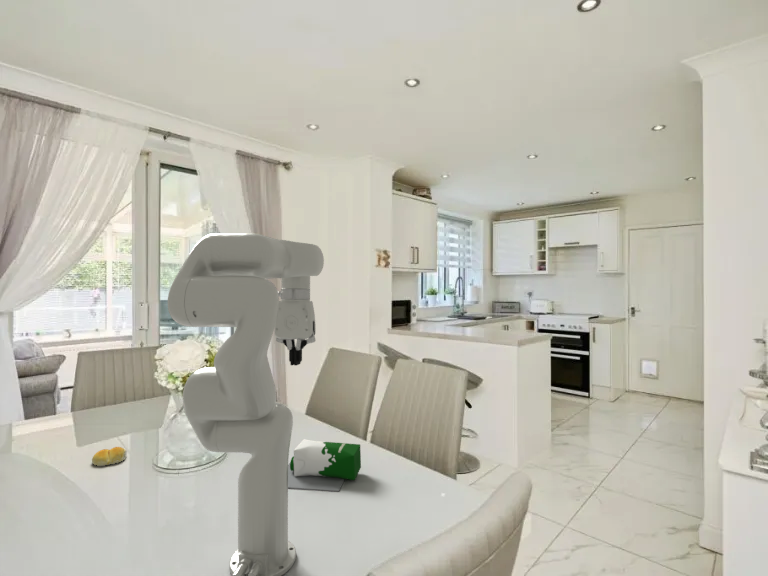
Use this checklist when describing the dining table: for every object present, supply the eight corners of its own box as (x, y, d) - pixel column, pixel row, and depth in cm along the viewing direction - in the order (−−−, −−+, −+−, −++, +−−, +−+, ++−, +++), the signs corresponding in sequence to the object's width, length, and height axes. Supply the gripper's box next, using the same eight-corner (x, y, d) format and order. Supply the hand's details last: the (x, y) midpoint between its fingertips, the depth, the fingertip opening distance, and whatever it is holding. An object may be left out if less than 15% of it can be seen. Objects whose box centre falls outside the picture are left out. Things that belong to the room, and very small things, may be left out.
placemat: (338, 491, 108) (338, 490, 108) (270, 487, 110) (270, 486, 110) (350, 465, 124) (350, 464, 124) (291, 462, 126) (291, 461, 126)
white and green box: (361, 469, 120) (299, 463, 124) (361, 439, 120) (298, 435, 124) (353, 485, 112) (286, 478, 116) (352, 453, 111) (285, 448, 115)
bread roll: (94, 459, 129) (94, 446, 129) (127, 454, 133) (127, 442, 133) (88, 469, 121) (88, 456, 121) (123, 464, 125) (123, 451, 125)
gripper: (263, 295, 106) (262, 366, 105) (317, 296, 103) (317, 368, 103) (275, 295, 113) (275, 361, 113) (327, 295, 110) (326, 363, 110)
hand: (295, 364), depth 108 cm, fingers closed
